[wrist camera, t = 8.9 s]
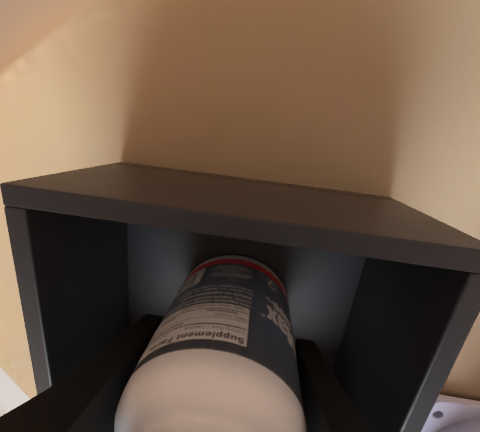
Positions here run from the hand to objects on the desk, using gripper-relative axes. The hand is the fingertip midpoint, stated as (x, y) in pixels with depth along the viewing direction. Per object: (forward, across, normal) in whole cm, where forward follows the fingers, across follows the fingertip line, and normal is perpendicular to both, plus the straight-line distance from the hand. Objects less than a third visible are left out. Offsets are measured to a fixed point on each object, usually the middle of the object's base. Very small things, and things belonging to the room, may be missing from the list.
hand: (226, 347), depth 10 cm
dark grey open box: (+3, 0, 0) cm, 3 cm away
